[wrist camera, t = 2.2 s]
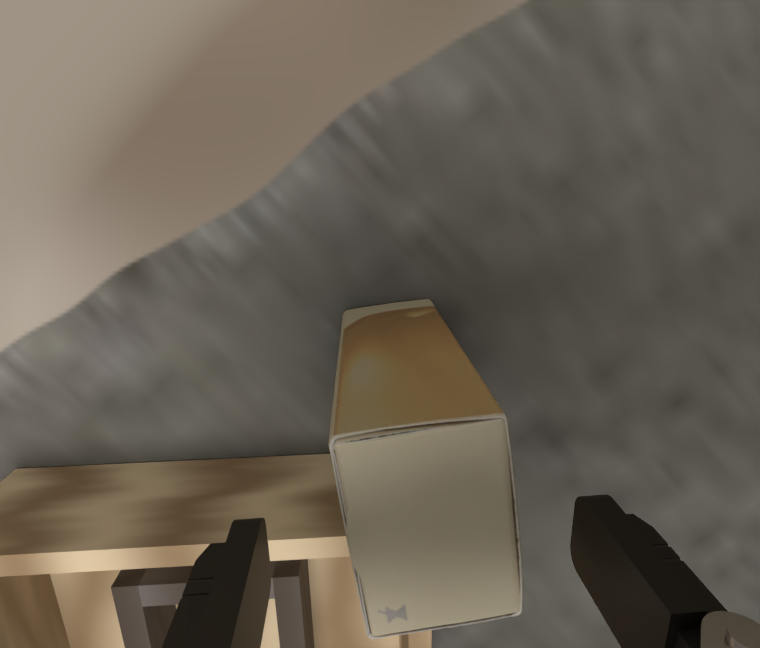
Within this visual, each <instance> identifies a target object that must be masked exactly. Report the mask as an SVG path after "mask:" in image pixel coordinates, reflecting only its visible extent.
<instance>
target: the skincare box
mask: <svg viewBox="0 0 760 648" xmlns="http://www.w3.org/2000/svg"><path fill="white" fill-rule="evenodd" d="M329 450H330V455H331V460H332V466H333V471H334V477H335V482H336V487H337V492H338V497H339V503H340V508H341V513H342V518H343V523H344V529H345V534H346V539H347V543H348V548H349V553H350V558H351V562H352V567H353V572H354V576H355V581H356V586H357V591H358V596H359V601H360V606H361V611H362V615H363V619H364V624H365V630H366V634H367V637H368V638H370V639H380V638H385V637H390V636H395V635H404V634H410V633H417V632H424V631H430V630H437V629H443V628H450V627H457V626H462V625H469V624H475V623H481V622H487V621H492V620H496V619H501V618H505V617H513V616H518V615H520V614H521V612H522V594H523V592H522V562H521V546H520V535H519V522H518V511H517V500H516V490H515V481H514V471H513V464H512V456H511V447H510V440H509V432H508V424H507V417H506V415H505V414H504V412H503V411H502V409H501V407H500V406H499V404H498V403H497V402H496V400H495V399H494V397H493V396H492V394H491V392H490V391H489V389H488V388H487V386H486V385H485V383H484V382H483V380H482V378H481V377H480V375H479V374H478V373H477V371H476V369H475V368H474V366H473V365H472V363H471V362H470V360H469V359H468V357H467V356H466V354H465V353H464V351H463V350H462V348H461V347H460V345H459V343H458V342H457V340H456V339H455V337H454V336H453V334H452V332H451V331H450V329H449V328H448V326H447V325H446V323H445V322H444V320H443V319H442V317H441V316H440V314H439V312H438V311H437V309H436V308H435V306H434V304H433V303H432V301H431V300H430V299H421V300H413V301H404V302H396V303H389V304H381V305H375V306H368V307H361V308H355V309H349V310H346V311H345V312H344V313H343V316H342V326H341V335H340V345H339V353H338V362H337V371H336V380H335V390H334V399H333V408H332V417H331V426H330V435H329Z"/></svg>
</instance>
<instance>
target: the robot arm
mask: <svg viewBox="0 0 760 648" xmlns="http://www.w3.org/2000/svg"><path fill="white" fill-rule="evenodd" d="M570 548H571V556H572V561H573V564H574V567H575V569H576V571H577V573H578V575H579V577H580V578H581V580H582V582H583V583H584V585H585V587H586V588H587V590H588V592H589V593H590V595H591V597H592V599H593V600H594V602H595V604H596V605H597V607H598V609H599V610H600V612H601V614H602V615H603V617H604V619H605V621H606V622H607V624H608V626H609V627H610V629H611V631H612V632H613V634H614V636H615V637H616V639H617V641H618V643H619V644H620V646H621V648H760V624H759V623H757V622H755V621H753V620H752V619H750V618H747V617H745V616H743V615H740V614H737V613H733V612H728V611H727V610H726V609H725V608H724V607H723V606H722V605H721V603H720V602H719V601H718V600H717V599H716V598H715V597H714V595H713V594H712V593H711V592H710V591H709V590H708V589H707V588H706V586H705V585H704V584H703V583H702V582H701V581H700V580H699V579H698V577H697V576H696V575H695V574H694V573H693V572H692V571H691V569H690V568H689V567H688V566H687V565H686V564H685V563H684V562H683V561H681V560H680V557H679V556H678V555H677V554H676V553H675V551H674V550H673V549H672V548H671V547H668V543H667V542H666V541H665V540H664V539H663V538H662V537H661V536H660V534H659V533H658V532H657V531H656V530H655V529H654V528H653V527H652V526H650V525H649V524H647V523H646V522H644V521H643V520H641V519H640V518H638V517H637V516H635V515H634V514H625V513H624V511H623V510H622V509H621V508H620V507H619V505H618V504H617V503H616V502H615V501H614V499H613V498H612V497H611V496H609V495H594V496H580V497H578V498H577V499H576V501H575V507H574V516H573V526H572V535H571V545H570ZM270 588H271V565H270V556H269V548H268V539H267V530H266V522H265V519H264V518H251V519H236V520H233V522H232V524H231V527H230V530H229V533H228V536H227V539H226V542H224V543H211V544H210V545H209V546H208V547H207V548H206V549H205V550H204V551H203V553H202V554H201V555H200V556H199V557H198V558H197V559H196V560H195V563H194V566H193V568H192V571H191V573H190V576H189V579H188V583H187V584H186V586H185V589H184V591H183V594H182V599H180V602H179V604H178V607H177V609H176V612H175V615H174V617H173V620H172V622H171V625H170V628H169V630H168V633H167V635H166V638H165V640H164V643H163V646H162V648H260V647H261V641H262V636H263V630H264V625H265V619H266V613H267V608H268V602H269V596H270Z"/></svg>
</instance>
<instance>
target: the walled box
mask: <svg viewBox="0 0 760 648" xmlns="http://www.w3.org/2000/svg"><path fill="white" fill-rule="evenodd" d="M251 518H264V519H265V522H266V530H267V539H268V548H269V556H270V565H271V588H270V596H269V602H268V608H267V613H266V619H265V625H264V630H263V636H262V641H261V647H260V648H431V640H432V630H430V631H424V632H417V633H410V634H404V635H395V636H390V637H385V638H380V639H370V638H368V637H367V634H366V630H365V624H364V619H363V615H362V611H361V606H360V601H359V596H358V591H357V586H356V581H355V576H354V572H353V567H352V562H351V558H350V553H349V548H348V543H347V539H346V534H345V529H344V523H343V518H342V513H341V508H340V503H339V497H338V492H337V487H336V482H335V477H334V471H333V466H332V460H331V455H330V454H312V455H291V456H271V457H250V458H229V459H208V460H187V461H166V462H145V463H125V464H104V465H83V466H62V467H41V468H20V469H15V470H14V471H13V472H12V473H10V474H9V475H8V476H7V477H6V478H5V479H4V480H2V481H1V482H0V648H162V646H163V643H164V640H165V638H166V635H167V633H168V630H169V628H170V625H171V622H172V620H173V617H174V615H175V612H176V609H177V607H178V604H179V602H180V599H182V594H183V591H184V589H185V586H186V584H187V583H188V579H189V576H190V573H191V571H192V568H193V566H194V563H195V560H196V559H197V558H198V557H199V556H200V555H201V554H202V553H203V551H204V550H205V549H206V548H207V547H208V546H209V545H210V544H211V543H224V542H226V539H227V536H228V533H229V530H230V527H231V524H232V522H233V520H236V519H251Z"/></svg>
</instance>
